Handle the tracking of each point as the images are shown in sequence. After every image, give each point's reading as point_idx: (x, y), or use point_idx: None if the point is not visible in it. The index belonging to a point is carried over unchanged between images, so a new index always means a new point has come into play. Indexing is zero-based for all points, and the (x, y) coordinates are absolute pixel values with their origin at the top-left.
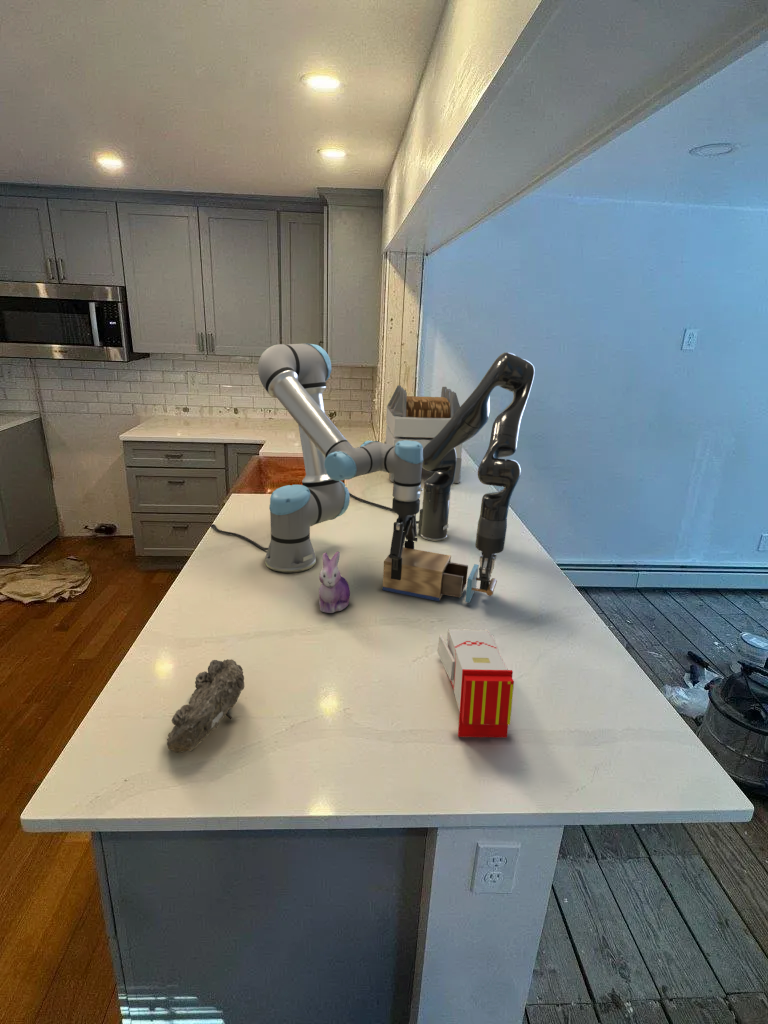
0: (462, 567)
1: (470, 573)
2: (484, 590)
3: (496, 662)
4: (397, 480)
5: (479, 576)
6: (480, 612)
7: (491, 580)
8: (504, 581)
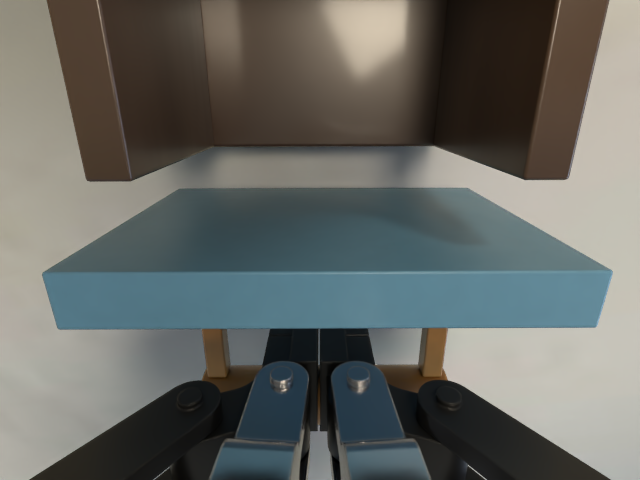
0: (522, 89)
1: (243, 276)
2: (208, 364)
3: None
4: None
5: (93, 440)
6: None
7: None
8: (631, 359)
